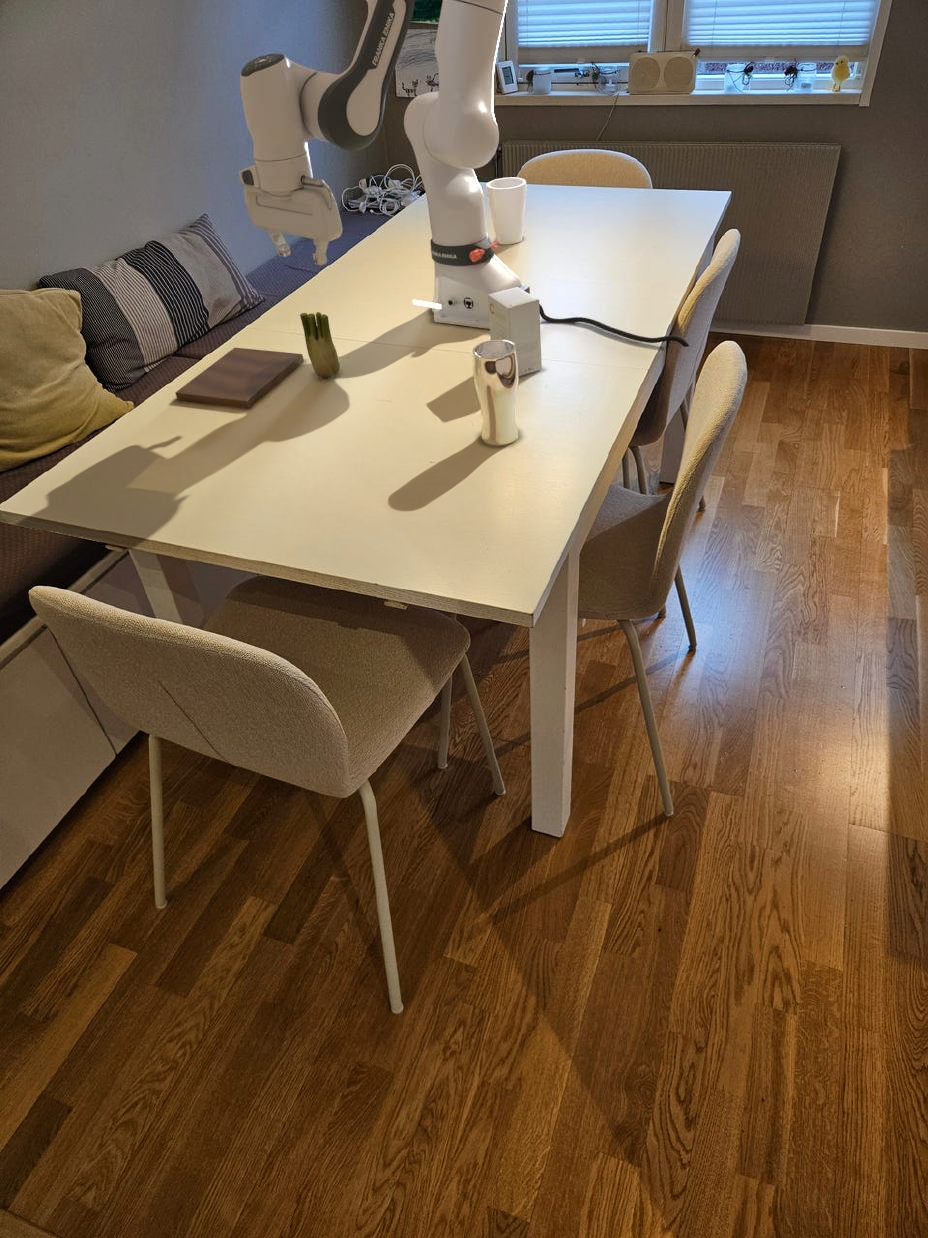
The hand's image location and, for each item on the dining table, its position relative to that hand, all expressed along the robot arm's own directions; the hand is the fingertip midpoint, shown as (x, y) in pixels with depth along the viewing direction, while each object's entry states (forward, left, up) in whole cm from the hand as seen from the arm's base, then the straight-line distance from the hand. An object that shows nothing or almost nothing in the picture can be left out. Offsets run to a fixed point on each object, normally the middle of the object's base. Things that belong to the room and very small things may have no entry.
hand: (302, 259), depth 151 cm
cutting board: (+13, +10, -21) cm, 27 cm away
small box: (-30, -20, -22) cm, 42 cm away
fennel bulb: (0, 0, -22) cm, 22 cm away
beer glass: (-43, +2, -22) cm, 48 cm away
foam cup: (+14, -76, -22) cm, 80 cm away
